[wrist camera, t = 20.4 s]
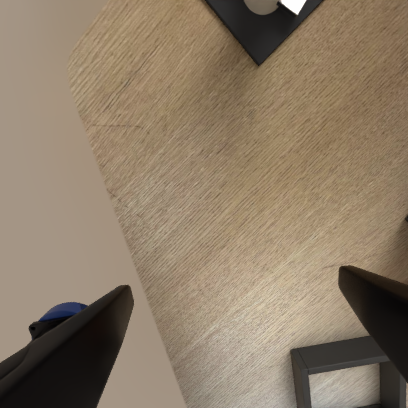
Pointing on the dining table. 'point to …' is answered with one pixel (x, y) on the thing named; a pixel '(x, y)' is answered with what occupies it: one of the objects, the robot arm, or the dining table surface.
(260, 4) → the white tall round cylinder
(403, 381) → the grey picture frame
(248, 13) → the rubber mat
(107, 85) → the dining table surface
